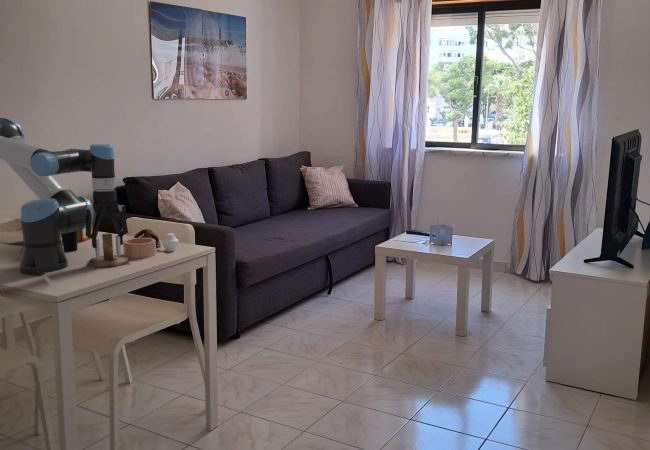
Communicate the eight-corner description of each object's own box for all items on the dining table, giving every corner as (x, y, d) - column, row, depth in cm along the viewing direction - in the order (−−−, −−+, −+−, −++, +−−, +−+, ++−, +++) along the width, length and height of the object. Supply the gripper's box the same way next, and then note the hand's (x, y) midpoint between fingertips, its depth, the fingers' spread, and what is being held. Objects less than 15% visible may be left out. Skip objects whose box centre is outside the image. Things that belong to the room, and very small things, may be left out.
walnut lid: (94, 269, 222) (92, 239, 220) (84, 261, 233) (82, 233, 231) (133, 264, 229) (131, 235, 227) (122, 256, 240) (120, 229, 238)
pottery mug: (161, 250, 255) (149, 234, 252) (140, 261, 256) (128, 244, 252) (164, 236, 266) (153, 220, 262) (143, 246, 267) (132, 230, 263)
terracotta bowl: (129, 262, 235) (129, 245, 234) (120, 255, 244) (119, 239, 243) (160, 258, 241) (159, 241, 240) (150, 252, 250) (149, 236, 249)
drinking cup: (56, 250, 254) (52, 198, 250) (76, 247, 259) (72, 196, 255) (64, 253, 248) (60, 200, 244) (84, 250, 253) (80, 198, 249)
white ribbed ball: (162, 249, 255) (161, 231, 254) (178, 248, 257) (177, 230, 256) (162, 252, 249) (161, 234, 248) (179, 251, 251) (178, 233, 250)
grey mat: (95, 271, 223) (95, 268, 223) (86, 263, 233) (86, 261, 233) (131, 266, 229) (131, 264, 229) (121, 259, 239) (121, 257, 239)
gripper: (77, 193, 218) (82, 261, 222) (135, 189, 228) (139, 254, 232) (72, 190, 224) (76, 257, 228) (129, 186, 234) (132, 250, 239)
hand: (108, 255), depth 230 cm, fingers open, 6 cm apart
